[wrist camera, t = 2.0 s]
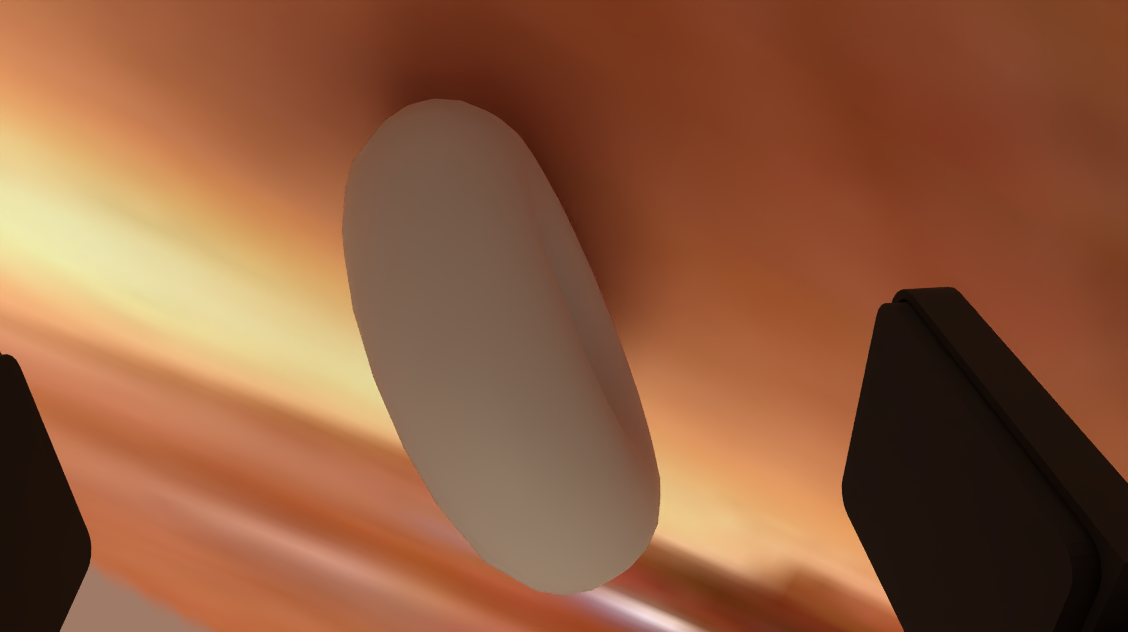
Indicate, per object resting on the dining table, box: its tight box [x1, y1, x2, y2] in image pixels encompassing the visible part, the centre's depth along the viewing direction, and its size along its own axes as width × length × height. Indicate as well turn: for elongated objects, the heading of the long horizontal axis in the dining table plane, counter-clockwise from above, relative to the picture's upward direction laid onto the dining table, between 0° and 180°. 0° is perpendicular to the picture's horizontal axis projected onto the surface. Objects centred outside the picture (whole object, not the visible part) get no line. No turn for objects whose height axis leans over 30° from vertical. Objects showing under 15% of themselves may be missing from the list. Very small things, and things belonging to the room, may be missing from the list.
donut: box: [342, 98, 660, 595], centre depth 18 cm, size 10×4×10 cm, turn 23°
